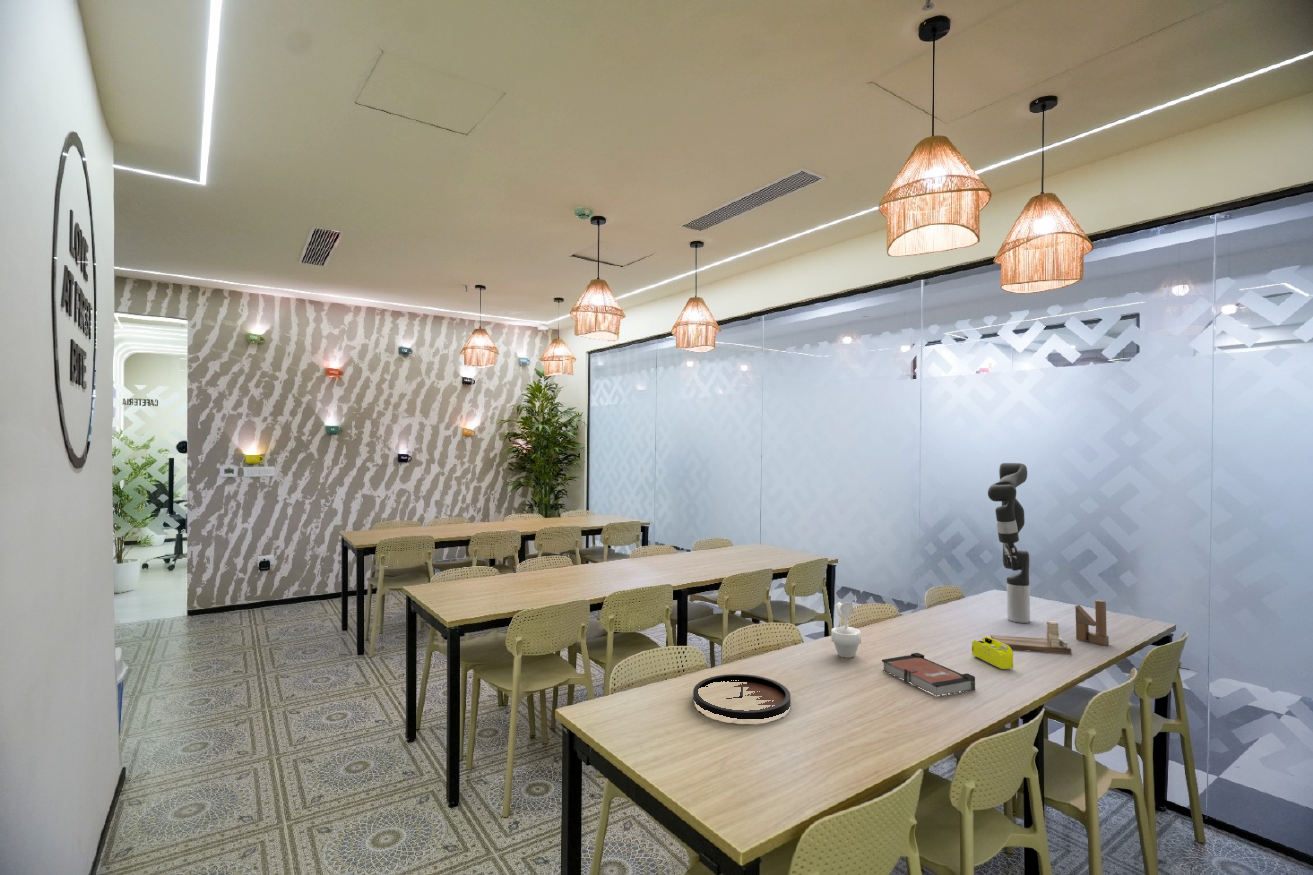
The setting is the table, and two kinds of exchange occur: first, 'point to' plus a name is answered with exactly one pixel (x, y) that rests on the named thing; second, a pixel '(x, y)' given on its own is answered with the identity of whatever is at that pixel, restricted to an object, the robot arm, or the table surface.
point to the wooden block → (1092, 624)
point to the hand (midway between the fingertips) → (1012, 567)
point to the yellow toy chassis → (993, 652)
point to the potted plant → (846, 632)
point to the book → (928, 674)
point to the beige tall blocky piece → (1052, 633)
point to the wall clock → (755, 683)
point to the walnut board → (1032, 644)
